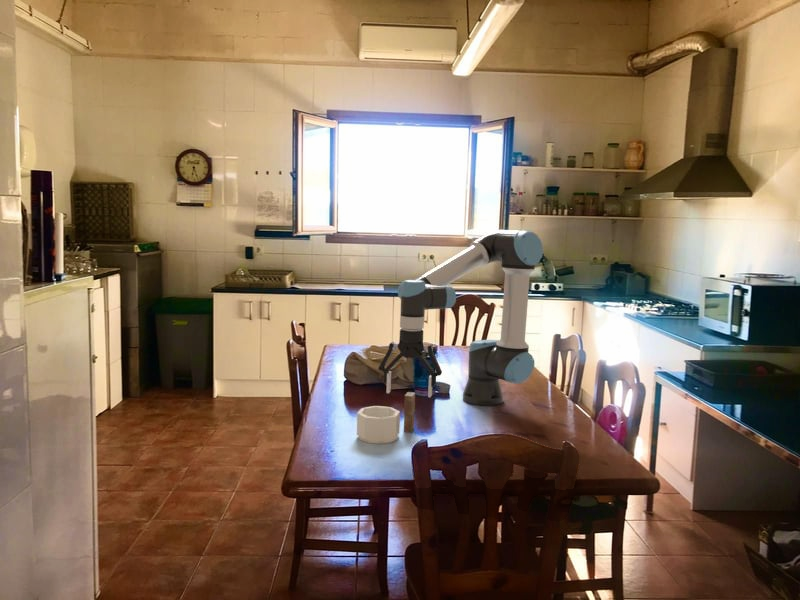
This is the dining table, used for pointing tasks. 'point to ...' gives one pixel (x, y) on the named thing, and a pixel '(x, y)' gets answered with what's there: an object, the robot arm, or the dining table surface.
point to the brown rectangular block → (409, 412)
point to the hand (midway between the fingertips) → (409, 394)
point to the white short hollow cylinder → (378, 424)
